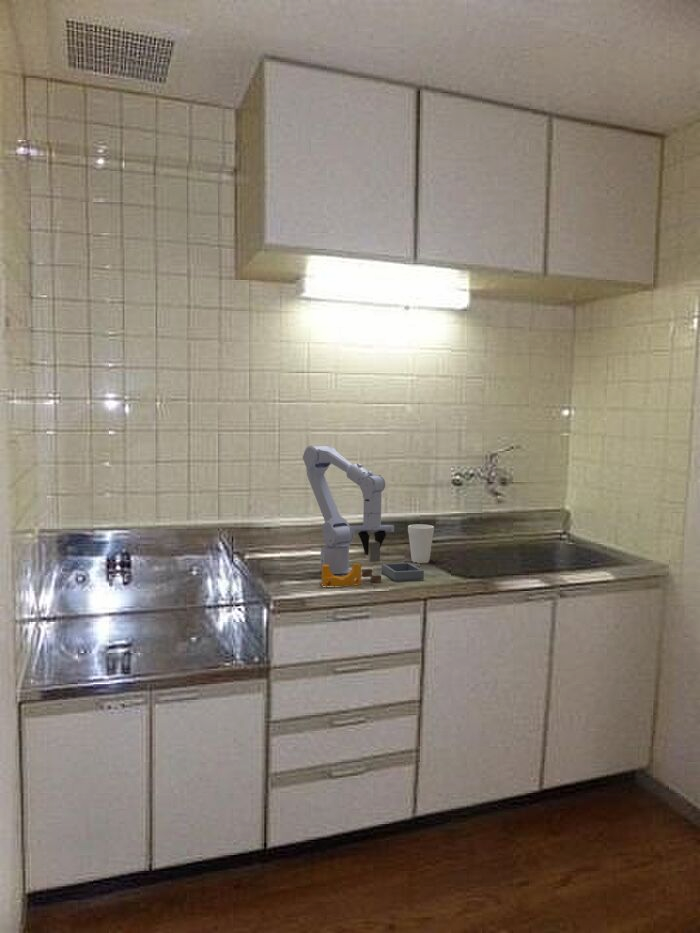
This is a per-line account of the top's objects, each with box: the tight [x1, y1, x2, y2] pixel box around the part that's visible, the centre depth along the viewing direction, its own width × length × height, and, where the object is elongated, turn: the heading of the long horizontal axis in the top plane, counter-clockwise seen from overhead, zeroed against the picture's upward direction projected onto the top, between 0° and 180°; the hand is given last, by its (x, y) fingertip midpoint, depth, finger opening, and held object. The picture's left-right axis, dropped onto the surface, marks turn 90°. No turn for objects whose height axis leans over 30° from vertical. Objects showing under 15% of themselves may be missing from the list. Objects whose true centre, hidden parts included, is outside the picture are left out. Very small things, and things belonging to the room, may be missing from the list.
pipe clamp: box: [321, 562, 362, 588], centre depth 205 cm, size 12×4×6 cm, turn 103°
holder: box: [361, 568, 382, 584], centre depth 214 cm, size 3×11×2 cm, turn 16°
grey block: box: [363, 538, 381, 563], centre depth 214 cm, size 3×7×6 cm, turn 16°
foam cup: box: [407, 523, 435, 564], centre depth 242 cm, size 10×9×13 cm
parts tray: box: [381, 562, 425, 582], centre depth 218 cm, size 10×13×3 cm
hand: (371, 554), depth 214 cm, fingers closed on grey block, 3 cm apart
